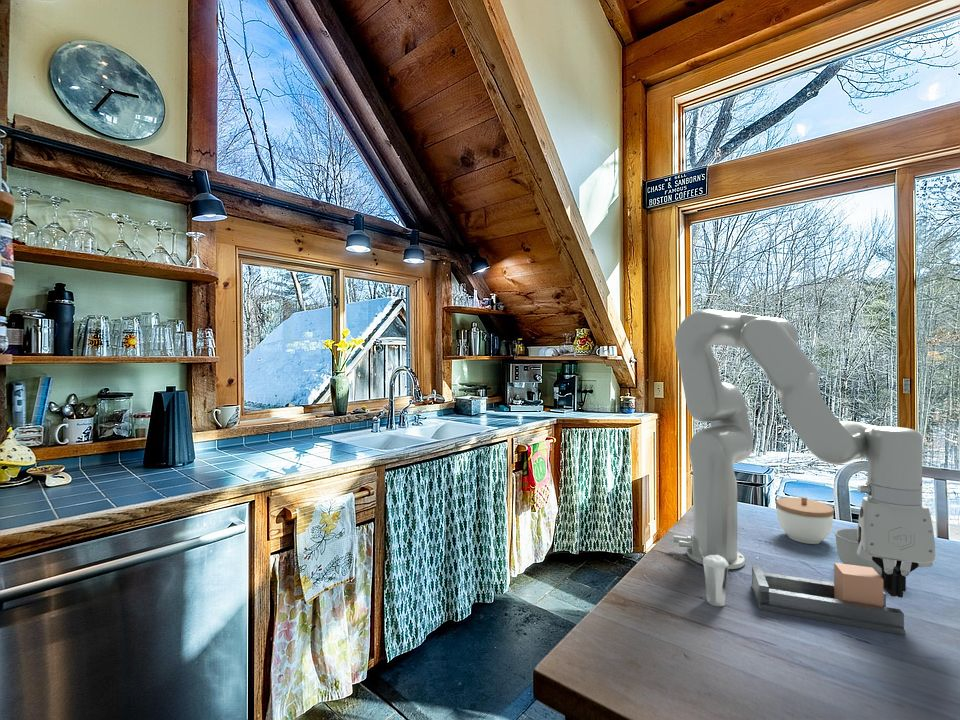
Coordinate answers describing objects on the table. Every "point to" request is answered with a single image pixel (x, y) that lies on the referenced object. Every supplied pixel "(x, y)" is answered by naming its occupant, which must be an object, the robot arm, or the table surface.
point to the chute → (821, 603)
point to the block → (858, 584)
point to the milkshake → (715, 578)
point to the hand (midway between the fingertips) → (893, 593)
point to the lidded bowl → (805, 519)
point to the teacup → (853, 550)
